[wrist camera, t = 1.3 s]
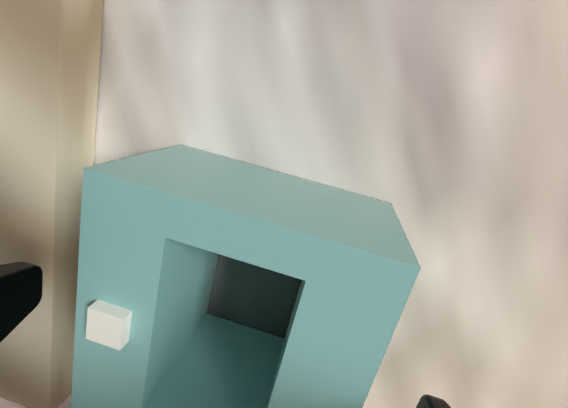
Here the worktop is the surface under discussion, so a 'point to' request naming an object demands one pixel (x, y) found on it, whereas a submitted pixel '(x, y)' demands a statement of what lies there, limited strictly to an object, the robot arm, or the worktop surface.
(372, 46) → the worktop surface
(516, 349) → the worktop surface
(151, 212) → the teal open cube
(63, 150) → the board
